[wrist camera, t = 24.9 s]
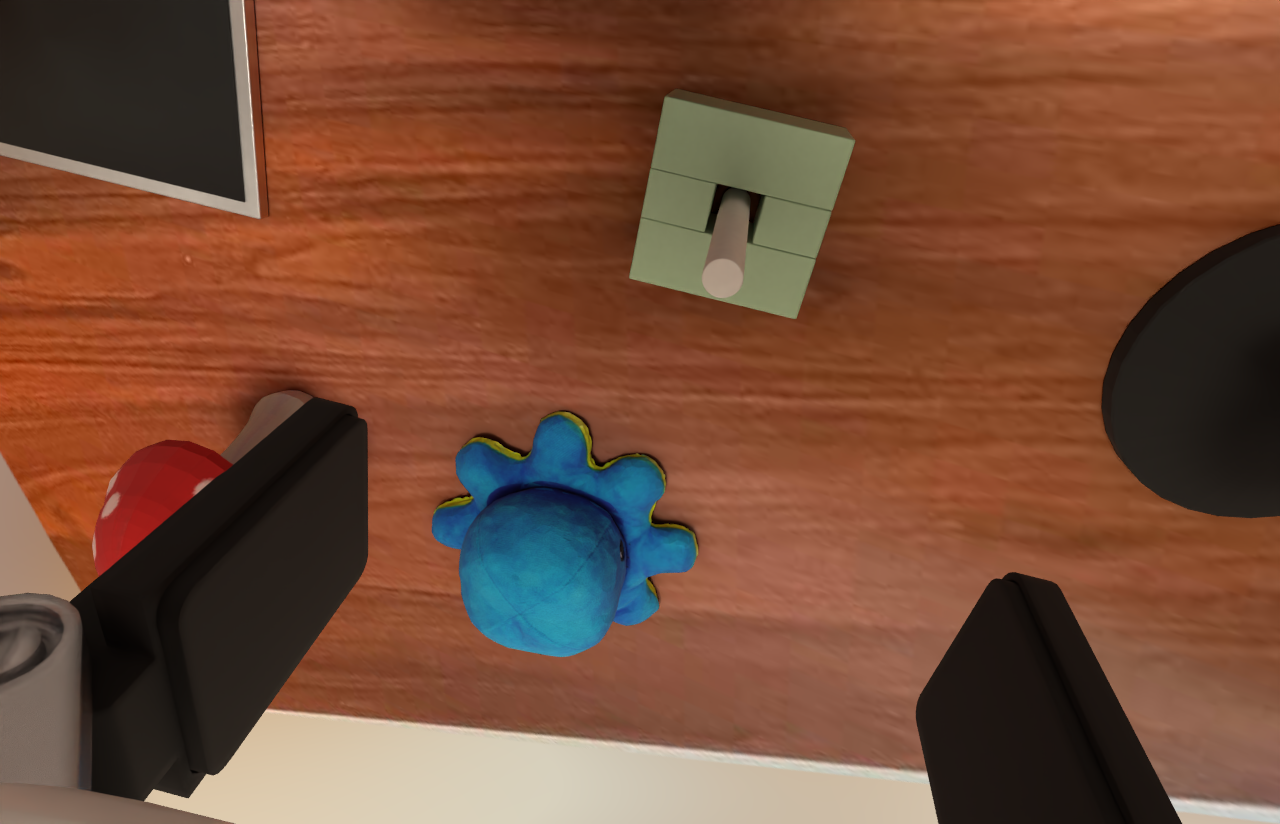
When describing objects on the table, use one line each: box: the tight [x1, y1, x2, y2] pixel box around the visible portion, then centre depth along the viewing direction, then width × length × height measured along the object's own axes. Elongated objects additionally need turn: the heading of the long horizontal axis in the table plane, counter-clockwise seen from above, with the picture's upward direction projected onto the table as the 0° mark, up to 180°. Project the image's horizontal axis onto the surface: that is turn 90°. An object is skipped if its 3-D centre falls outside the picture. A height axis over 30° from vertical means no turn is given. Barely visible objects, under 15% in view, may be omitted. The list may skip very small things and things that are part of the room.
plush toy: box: [432, 411, 698, 657], centre depth 43 cm, size 17×17×8 cm
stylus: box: [702, 187, 751, 298], centre depth 29 cm, size 1×1×13 cm
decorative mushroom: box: [92, 390, 313, 576], centre depth 40 cm, size 10×9×15 cm
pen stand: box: [629, 89, 855, 319], centre depth 33 cm, size 8×8×4 cm
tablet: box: [0, 0, 268, 219], centre depth 36 cm, size 14×22×1 cm, turn 79°
